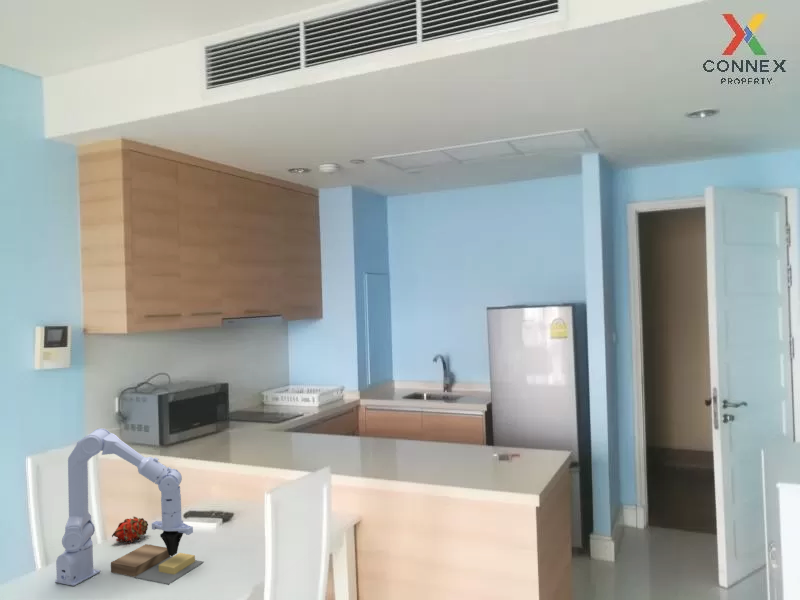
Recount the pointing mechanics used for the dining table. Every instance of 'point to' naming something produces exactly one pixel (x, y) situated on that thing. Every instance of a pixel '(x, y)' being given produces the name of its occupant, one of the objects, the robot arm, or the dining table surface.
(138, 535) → the dragon fruit
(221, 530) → the dining table surface
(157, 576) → the mat
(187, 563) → the yellow rectangular block
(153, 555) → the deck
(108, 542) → the dining table surface
